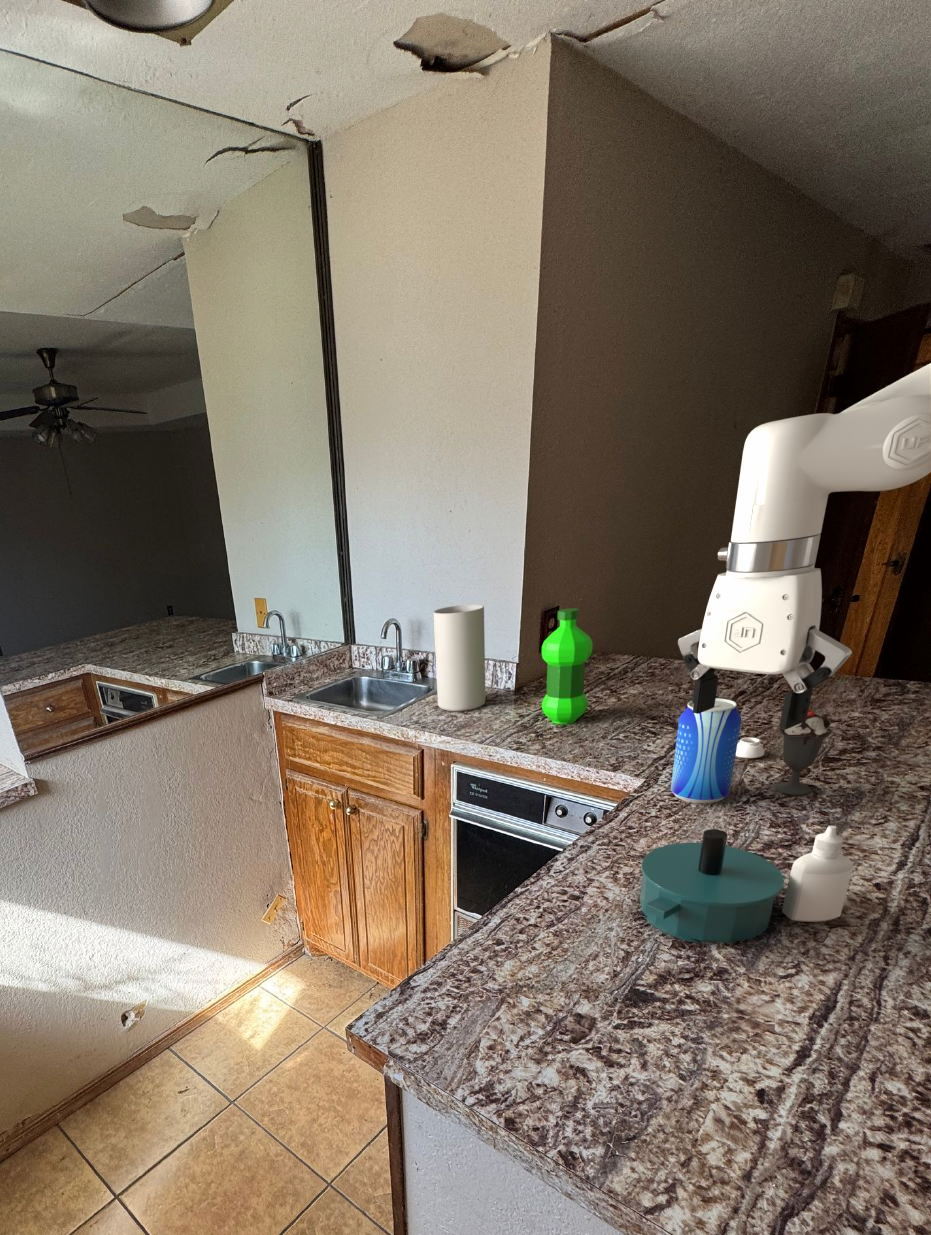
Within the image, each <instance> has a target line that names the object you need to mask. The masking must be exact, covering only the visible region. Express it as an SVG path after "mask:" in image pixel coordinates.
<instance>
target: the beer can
mask: <svg viewBox="0 0 931 1235" xmlns="http://www.w3.org/2000/svg"><path fill="white" fill-rule="evenodd" d="M693 705H694V703H693V702H692V700H690V701H689V702H687V707H686V708H685V709H684V711H683V712H682V713H681V714H680V716H679V718H678V725H677V733H676V741H675V742H676V743H675V750H674V758H673V767H672V775H671V785H670V791H671V792H672V794H673V795H674V796H675V797H676V798H677V799H679V800H681V801H684V802H687V803H693V804H713V803H718V802H721V801H723V800H724V799H725V798H726V797H728V796H729V795H730V792H731V786H732V780H733V775H734V768H735V762H736V757H737V756H736V750H737V744H738V742H739V738H740V732H741V725H742V716H741V714H740V712H739V711H738V708H737V707H738V706H737V705H738V704H737V702H736V701H734V700H731V699H727V698H719V697H716V699H715V706H714V708H712V709H709V710H707V711H704V712H702V713H699V714H696V713H693Z"/></svg>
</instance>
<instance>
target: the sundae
mask: <svg viewBox="0 0 931 1235" xmlns="http://www.w3.org/2000/svg"><path fill="white" fill-rule="evenodd" d="M831 724H832V721H831V720H830V718H829V717H828V716H827V714H826V713H824V714H822V715H820V714H817V713H815V711H814V710H808V714H807V717H806V718H805V719H804V720H803V721H802V722H801V723H800V724H798V725H796V726H793V727H791V728H789V729H782V728H781V727H780V726H779V732H780V734H782V735H783V747H782V748H783V751H782V755H783V756H782V757H783V758H782V759H783V763H784V764H785V765H786V767H788V768H789V769H790V770H791V775H790V777H789V780H788V781H786V782H780V783H779V782H778V783H777V784H775V785H774V787H773V789H774V790H775V791H776V792H778V793H782V794H783V795H784V794H785V795H789V796H790V795H791V796H804V795H808V794H810V793H811V792H812V788H811V787H810V786H808V785H806V784H804V783H801V782H800V776H801V772H802V771H804V770H805V769H808V768H809V767H811V766H812V765H813V764H814V763H815V761H816V759H817V757H818V755H819V752H820V750H821V747H822V745H823V743H824V740H825V739H826V738H828V737H829V736H831V734H832V732H833V730H832V729H829V728H830V726H831Z"/></svg>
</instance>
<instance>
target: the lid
mask: <svg viewBox="0 0 931 1235" xmlns="http://www.w3.org/2000/svg"><path fill="white" fill-rule="evenodd" d="M728 837H729V836H728V833H727V832H726V831H725V830H722V829H717V828H711V829H710V828H709V829H705V830H704V831H703V834H702V840H701V842H681V843H680V842H679V843H673V844H667V845H664V846H660V847H658V848H655V849H653V850H651V851H650V852H649V853H647V854H646V855H645V856H644V857H643V859H642V860H641V868H640V869H641V873H642V875H644V877H645V878H646V880H647V881H648V882H649V883H650V884H652V885H653V886H654V887H656V888H657V889H659V890H660V891H662V892H664V893H666V894H668V895H671V896H673V897H676V898H679V899H682V900H685V901H689V902H693V903H698V904H703V905H710V906H720V907H742V906H751V905H756V904H760V903H764V902H767V901H769V900H771V899H773V898H774V899H775V898H776V897H777V896H779V895H780V893H781V892H782V891H783V888H784V885H785V884H784V883H785V877H784V875H783V873H782V872H781V870H780V869H779V868H778V867H777V866H776V865H775V864H774V863H772V862H770V861H769V860H767V859H766V858H765V857H763V856H760V855H758V854H756V853H754V852H750V851H748V850H745V849H741V848H738V847H734V846H730V845H727V841H728ZM762 857H763V858H762Z"/></svg>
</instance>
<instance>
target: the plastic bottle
mask: <svg viewBox="0 0 931 1235" xmlns="http://www.w3.org/2000/svg"><path fill="white" fill-rule="evenodd" d="M579 616H580V609H579V608H578V607H576V608H572V607H571V608H570V607H569V608H563V609H559V610H557V620H558V621H559V627H558V628H556V629H555V630H554V631H553V632H552V633H551V634H550V635H549V636H548V637H547V638H546V639H545V640H543V643H542V646H541V656H542V660H544V662H546V664H547V668H546V694H545V696H544V697H543V700H542V702H541V709H542V712H543V714H544V715H545V716H546V717H547V718H548V719H549V720H551V722H552V723H553V724H558V725H568V724H573V723H575V722H576V721H577V720H578V719H579V718H581V717H582V716H583V714H585V712H586V711H587V709H588V704H589V702H588V699H587V696H586V694H585V675H586V674H585V672H586V661H587V660H588V659H590V657H591V656H592V652H593V647H594V646H593V644H594V643H593V640H592V638H591V637H590V636H589V635H588V634H587V633H586V632H585V631H583V630H582V629H581V628H579V627H578V626H577V623H576V622H577V619H579Z"/></svg>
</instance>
